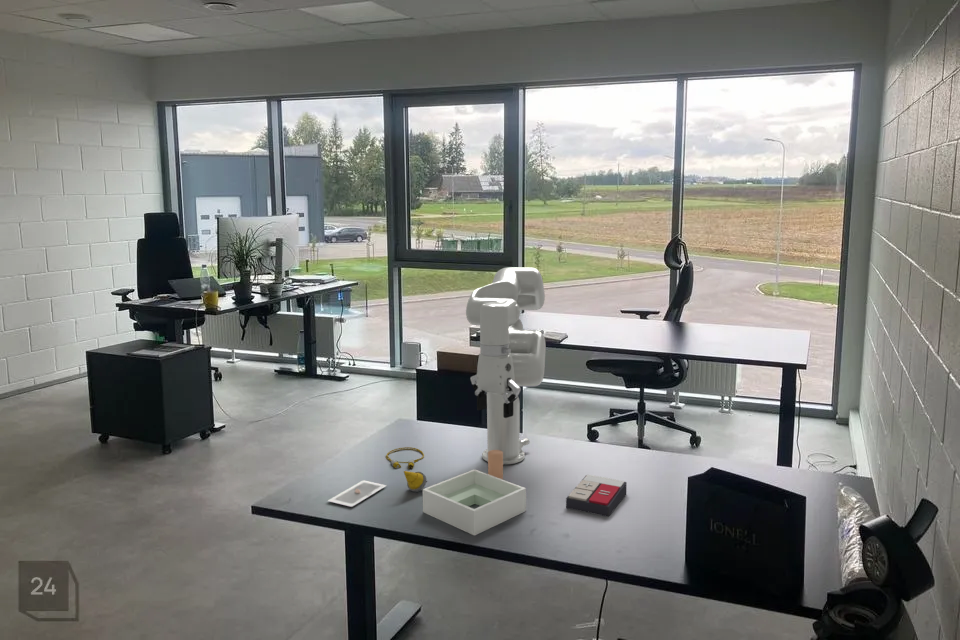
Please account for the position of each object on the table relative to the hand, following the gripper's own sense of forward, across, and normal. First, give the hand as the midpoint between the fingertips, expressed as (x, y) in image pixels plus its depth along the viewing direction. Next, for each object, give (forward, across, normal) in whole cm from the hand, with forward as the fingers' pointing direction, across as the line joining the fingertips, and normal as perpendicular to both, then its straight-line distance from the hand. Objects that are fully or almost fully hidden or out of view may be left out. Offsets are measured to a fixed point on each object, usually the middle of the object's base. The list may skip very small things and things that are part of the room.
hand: (495, 412), depth 195 cm
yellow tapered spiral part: (+20, +12, +18) cm, 30 cm away
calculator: (+21, -26, -10) cm, 35 cm away
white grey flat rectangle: (+21, +21, +30) cm, 42 cm away
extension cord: (+21, +33, +5) cm, 39 cm away
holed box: (+20, -8, +16) cm, 27 cm away
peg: (+20, 0, 0) cm, 20 cm away
